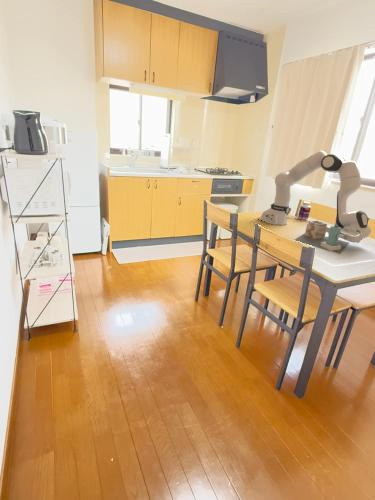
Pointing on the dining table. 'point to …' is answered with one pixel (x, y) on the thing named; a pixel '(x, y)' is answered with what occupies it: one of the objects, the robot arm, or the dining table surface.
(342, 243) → the mat
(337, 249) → the lower socket
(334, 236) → the plug block
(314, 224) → the brown mottled container
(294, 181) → the robot arm
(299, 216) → the pill bottle
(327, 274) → the dining table surface
